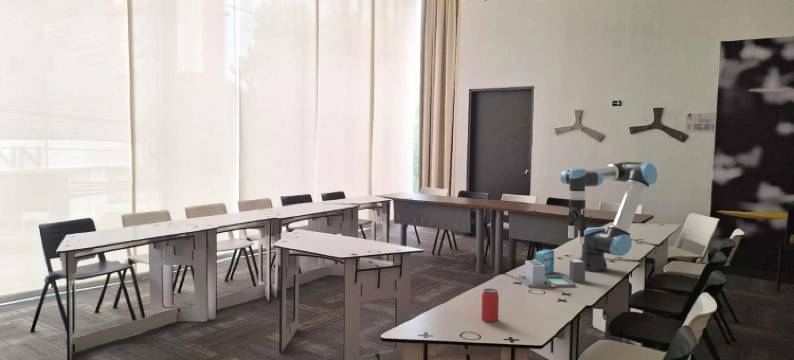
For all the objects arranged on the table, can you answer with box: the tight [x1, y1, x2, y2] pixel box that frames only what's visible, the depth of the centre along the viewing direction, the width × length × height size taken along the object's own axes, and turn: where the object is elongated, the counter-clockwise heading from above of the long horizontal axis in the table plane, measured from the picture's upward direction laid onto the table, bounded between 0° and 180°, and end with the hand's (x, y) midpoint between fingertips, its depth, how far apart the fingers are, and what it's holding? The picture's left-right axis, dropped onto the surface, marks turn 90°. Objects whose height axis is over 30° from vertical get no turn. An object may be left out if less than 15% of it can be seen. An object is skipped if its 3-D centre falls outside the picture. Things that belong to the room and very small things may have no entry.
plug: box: [568, 259, 586, 283], centre depth 268 cm, size 6×5×10 cm
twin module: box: [524, 259, 546, 285], centre depth 264 cm, size 6×12×10 cm, turn 3°
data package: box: [535, 248, 555, 275], centre depth 284 cm, size 12×4×12 cm, turn 136°
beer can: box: [481, 288, 500, 323], centre depth 210 cm, size 7×7×12 cm
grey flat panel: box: [518, 275, 577, 289], centre depth 264 cm, size 23×18×2 cm
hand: (575, 240), depth 267 cm, fingers open, 13 cm apart
